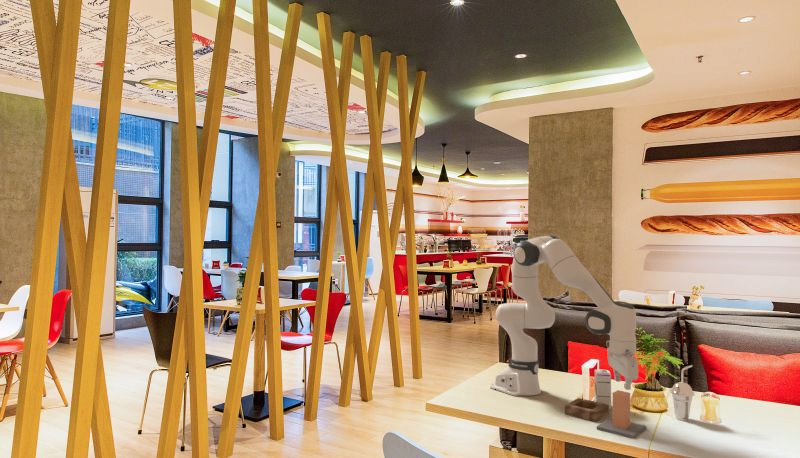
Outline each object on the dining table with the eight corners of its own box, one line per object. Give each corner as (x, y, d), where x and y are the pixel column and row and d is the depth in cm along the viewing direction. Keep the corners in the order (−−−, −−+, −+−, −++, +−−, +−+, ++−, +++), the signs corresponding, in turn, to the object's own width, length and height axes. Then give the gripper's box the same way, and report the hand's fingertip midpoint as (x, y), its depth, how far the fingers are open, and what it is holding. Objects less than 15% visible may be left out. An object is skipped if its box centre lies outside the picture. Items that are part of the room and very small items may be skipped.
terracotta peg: (612, 426, 199) (612, 392, 199) (617, 422, 202) (617, 390, 202) (624, 429, 195) (625, 395, 195) (630, 426, 199) (630, 392, 199)
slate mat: (596, 429, 198) (596, 426, 198) (610, 420, 208) (610, 417, 208) (633, 438, 189) (633, 435, 189) (646, 428, 199) (646, 425, 199)
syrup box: (611, 409, 220) (611, 373, 220) (596, 408, 221) (596, 372, 221) (609, 405, 226) (609, 369, 226) (594, 404, 227) (594, 368, 227)
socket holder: (564, 414, 214) (564, 405, 214) (578, 406, 223) (578, 398, 223) (595, 421, 206) (596, 412, 206) (609, 413, 215) (609, 404, 215)
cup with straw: (665, 414, 214) (665, 363, 214) (689, 415, 214) (689, 363, 214) (675, 422, 206) (676, 368, 206) (700, 422, 205) (700, 369, 205)
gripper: (643, 354, 188) (642, 394, 189) (621, 340, 209) (621, 377, 209) (624, 354, 189) (624, 394, 189) (604, 340, 209) (604, 376, 209)
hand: (622, 385), depth 199 cm, fingers open, 8 cm apart
